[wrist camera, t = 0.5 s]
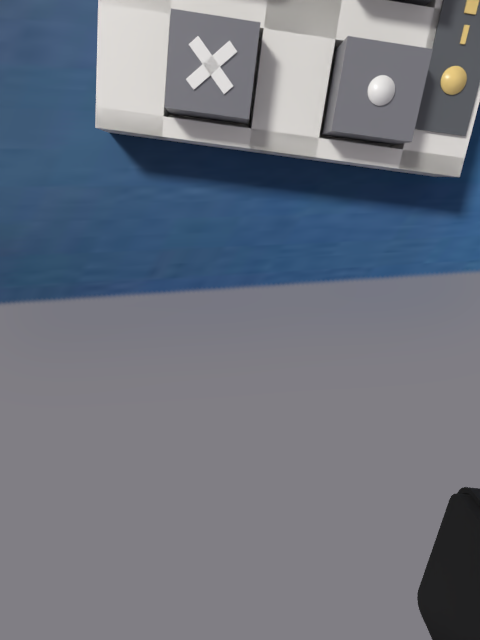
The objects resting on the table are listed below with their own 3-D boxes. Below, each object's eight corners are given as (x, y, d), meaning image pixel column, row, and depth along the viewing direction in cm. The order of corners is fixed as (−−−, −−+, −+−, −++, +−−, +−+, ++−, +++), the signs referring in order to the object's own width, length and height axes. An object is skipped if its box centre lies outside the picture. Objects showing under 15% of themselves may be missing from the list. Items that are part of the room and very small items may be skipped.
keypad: (118, -155, 27) (101, -206, 23) (501, -87, 28) (541, -125, 25) (109, 132, 32) (94, 127, 28) (436, 176, 33) (462, 177, 30)
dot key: (335, 49, 28) (348, 35, 25) (412, 61, 28) (433, 48, 26) (321, 134, 30) (331, 130, 27) (394, 145, 30) (412, 141, 27)
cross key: (176, 25, 27) (170, 7, 25) (257, 37, 28) (260, 21, 25) (170, 113, 29) (164, 106, 26) (246, 124, 29) (249, 118, 26)
